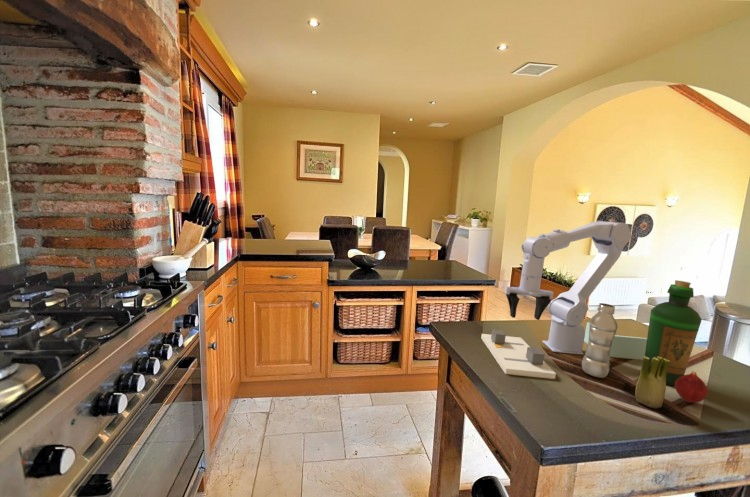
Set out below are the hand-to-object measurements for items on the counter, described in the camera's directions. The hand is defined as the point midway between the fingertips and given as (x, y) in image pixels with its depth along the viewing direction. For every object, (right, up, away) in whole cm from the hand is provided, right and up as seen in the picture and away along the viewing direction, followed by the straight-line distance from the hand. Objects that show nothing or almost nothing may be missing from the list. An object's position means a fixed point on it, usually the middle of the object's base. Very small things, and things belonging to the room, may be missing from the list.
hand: (524, 317), depth 108 cm
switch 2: (-3, -10, -12) cm, 16 cm away
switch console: (-6, -10, -6) cm, 13 cm away
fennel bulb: (+18, -16, -26) cm, 35 cm away
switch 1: (-9, -8, 0) cm, 12 cm away
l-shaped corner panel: (+32, -13, +7) cm, 35 cm away
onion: (+30, -16, -24) cm, 41 cm away
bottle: (+33, -15, -12) cm, 38 cm away
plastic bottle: (+13, -13, -13) cm, 23 cm away
